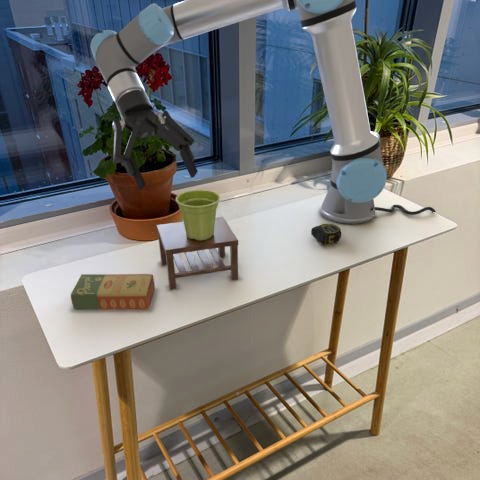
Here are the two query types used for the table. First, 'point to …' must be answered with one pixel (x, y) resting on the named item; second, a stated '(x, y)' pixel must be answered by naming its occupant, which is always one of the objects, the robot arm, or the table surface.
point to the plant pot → (198, 212)
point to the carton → (113, 292)
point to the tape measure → (326, 233)
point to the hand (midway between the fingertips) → (169, 181)
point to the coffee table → (178, 242)
